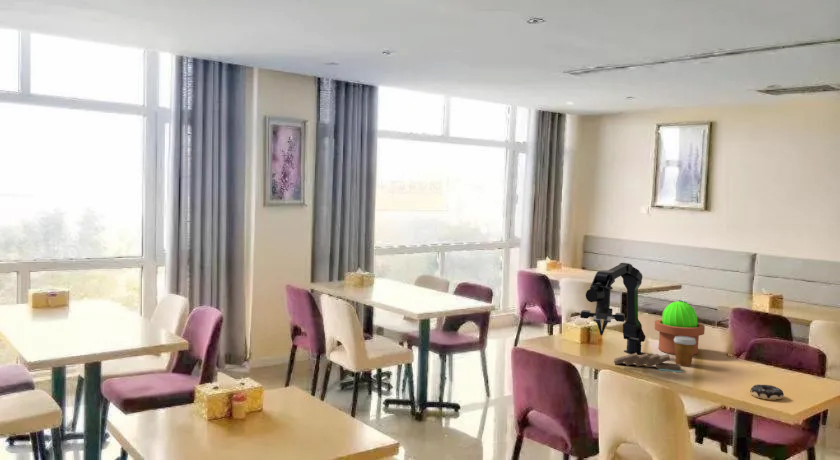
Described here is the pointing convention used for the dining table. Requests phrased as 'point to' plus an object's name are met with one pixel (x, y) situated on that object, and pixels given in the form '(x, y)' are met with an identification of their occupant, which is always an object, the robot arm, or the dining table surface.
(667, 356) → the domino
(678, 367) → the domino
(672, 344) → the potted cactus
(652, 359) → the domino
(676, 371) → the mat
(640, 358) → the domino
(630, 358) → the domino
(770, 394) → the donut
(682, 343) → the disposable coffee cup
